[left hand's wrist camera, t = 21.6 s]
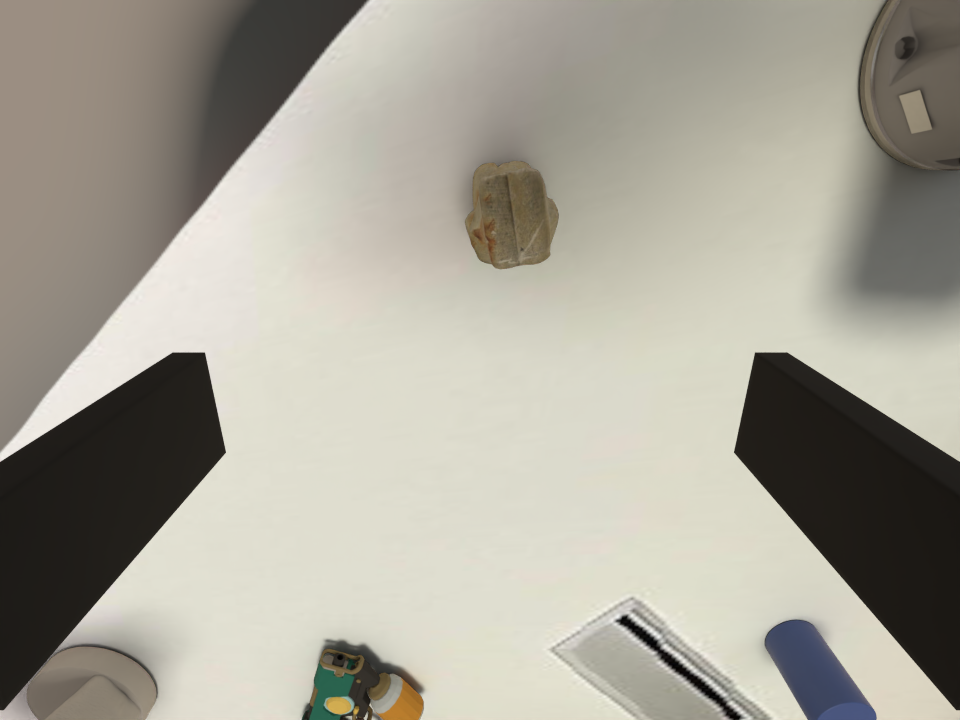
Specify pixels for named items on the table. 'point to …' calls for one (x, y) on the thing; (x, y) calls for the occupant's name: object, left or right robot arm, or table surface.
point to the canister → (815, 674)
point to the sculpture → (511, 215)
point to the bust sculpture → (91, 687)
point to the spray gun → (359, 691)
